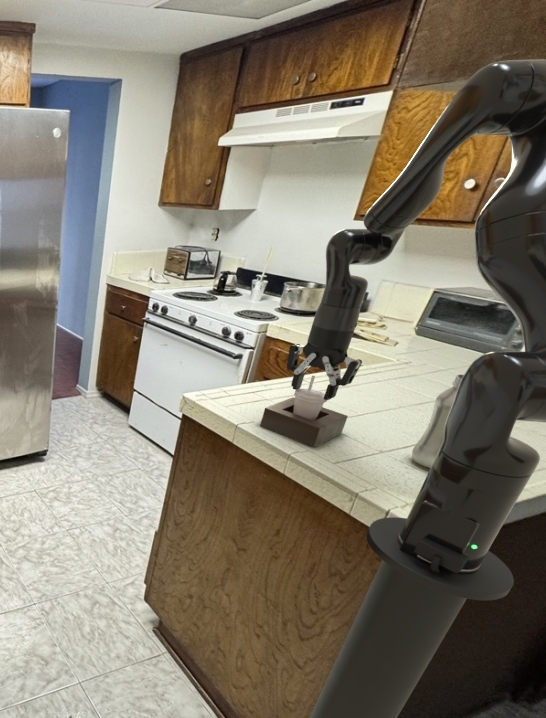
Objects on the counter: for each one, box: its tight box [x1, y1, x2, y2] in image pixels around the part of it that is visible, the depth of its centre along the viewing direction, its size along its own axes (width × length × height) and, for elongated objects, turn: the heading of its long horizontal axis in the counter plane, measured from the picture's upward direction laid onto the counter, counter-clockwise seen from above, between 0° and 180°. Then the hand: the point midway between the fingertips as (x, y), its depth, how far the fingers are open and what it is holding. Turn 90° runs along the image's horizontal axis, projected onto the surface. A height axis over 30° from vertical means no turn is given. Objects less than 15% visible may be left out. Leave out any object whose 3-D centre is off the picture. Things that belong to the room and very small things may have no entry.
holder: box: [259, 396, 349, 448], centre depth 112 cm, size 12×12×5 cm
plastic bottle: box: [411, 374, 464, 469], centre depth 95 cm, size 6×7×20 cm
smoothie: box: [293, 375, 328, 421], centre depth 111 cm, size 6×6×14 cm
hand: (311, 393), depth 109 cm, fingers closed on smoothie, 6 cm apart
